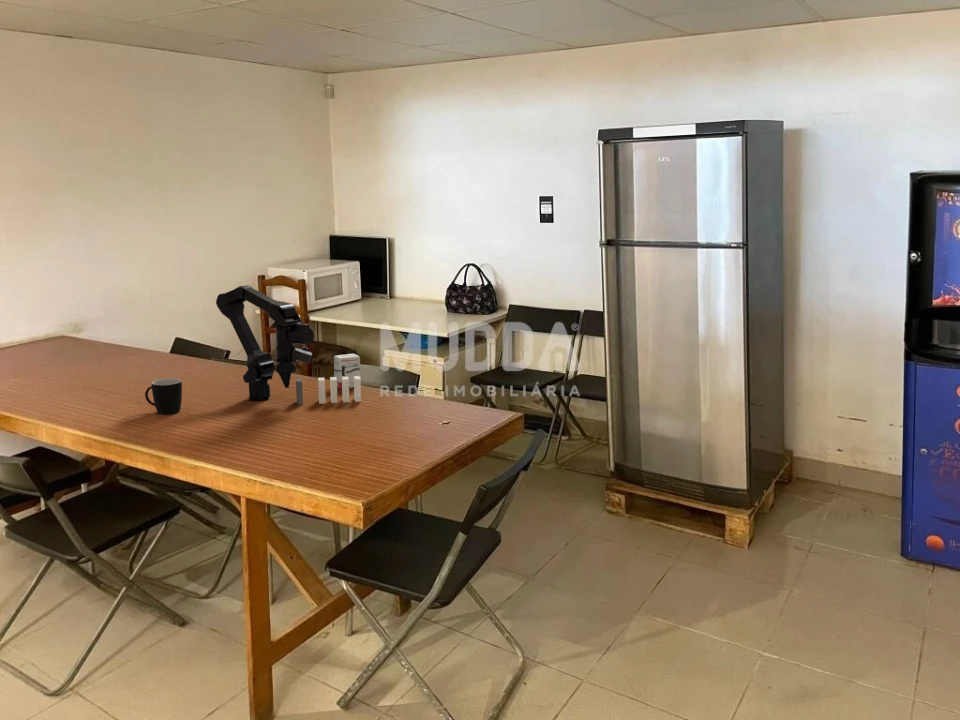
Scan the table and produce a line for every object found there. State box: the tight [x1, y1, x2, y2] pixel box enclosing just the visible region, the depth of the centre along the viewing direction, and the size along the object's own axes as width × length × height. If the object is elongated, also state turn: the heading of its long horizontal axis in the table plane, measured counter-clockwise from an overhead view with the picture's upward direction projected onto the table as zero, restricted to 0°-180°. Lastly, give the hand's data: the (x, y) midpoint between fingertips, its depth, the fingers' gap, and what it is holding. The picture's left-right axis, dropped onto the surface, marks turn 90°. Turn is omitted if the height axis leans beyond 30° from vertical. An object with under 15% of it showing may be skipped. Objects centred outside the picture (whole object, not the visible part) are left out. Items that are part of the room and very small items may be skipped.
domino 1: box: [295, 378, 304, 406], centre depth 262 cm, size 2×4×8 cm, turn 13°
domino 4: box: [341, 377, 350, 404], centre depth 266 cm, size 2×4×8 cm, turn 14°
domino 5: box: [353, 375, 362, 403], centre depth 267 cm, size 2×4×8 cm, turn 14°
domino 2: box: [317, 377, 326, 405], centre depth 264 cm, size 2×4×8 cm, turn 14°
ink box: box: [333, 353, 361, 390], centre depth 285 cm, size 8×5×12 cm, turn 124°
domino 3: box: [329, 376, 338, 404], centre depth 265 cm, size 2×4×8 cm, turn 14°
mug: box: [144, 378, 183, 416], centre depth 249 cm, size 12×9×10 cm
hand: (287, 387), depth 261 cm, fingers closed
